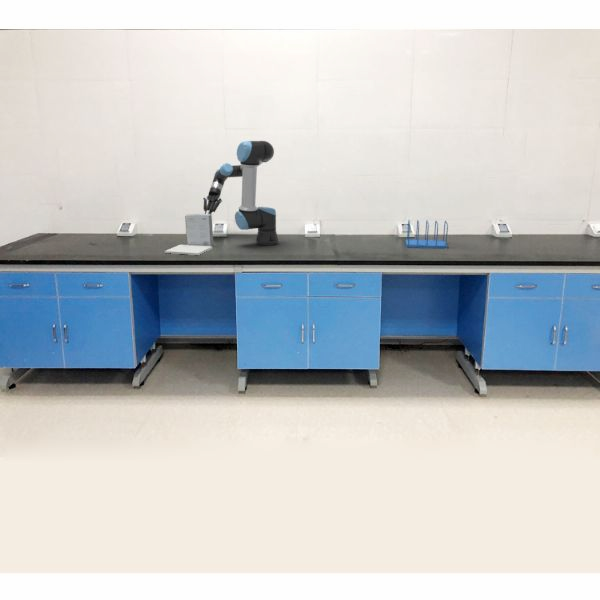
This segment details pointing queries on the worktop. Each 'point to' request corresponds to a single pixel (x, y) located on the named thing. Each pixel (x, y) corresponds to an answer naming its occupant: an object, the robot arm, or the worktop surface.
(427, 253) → the worktop surface
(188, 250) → the white flat square panel
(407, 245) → the file sorter
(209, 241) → the hard drive box
